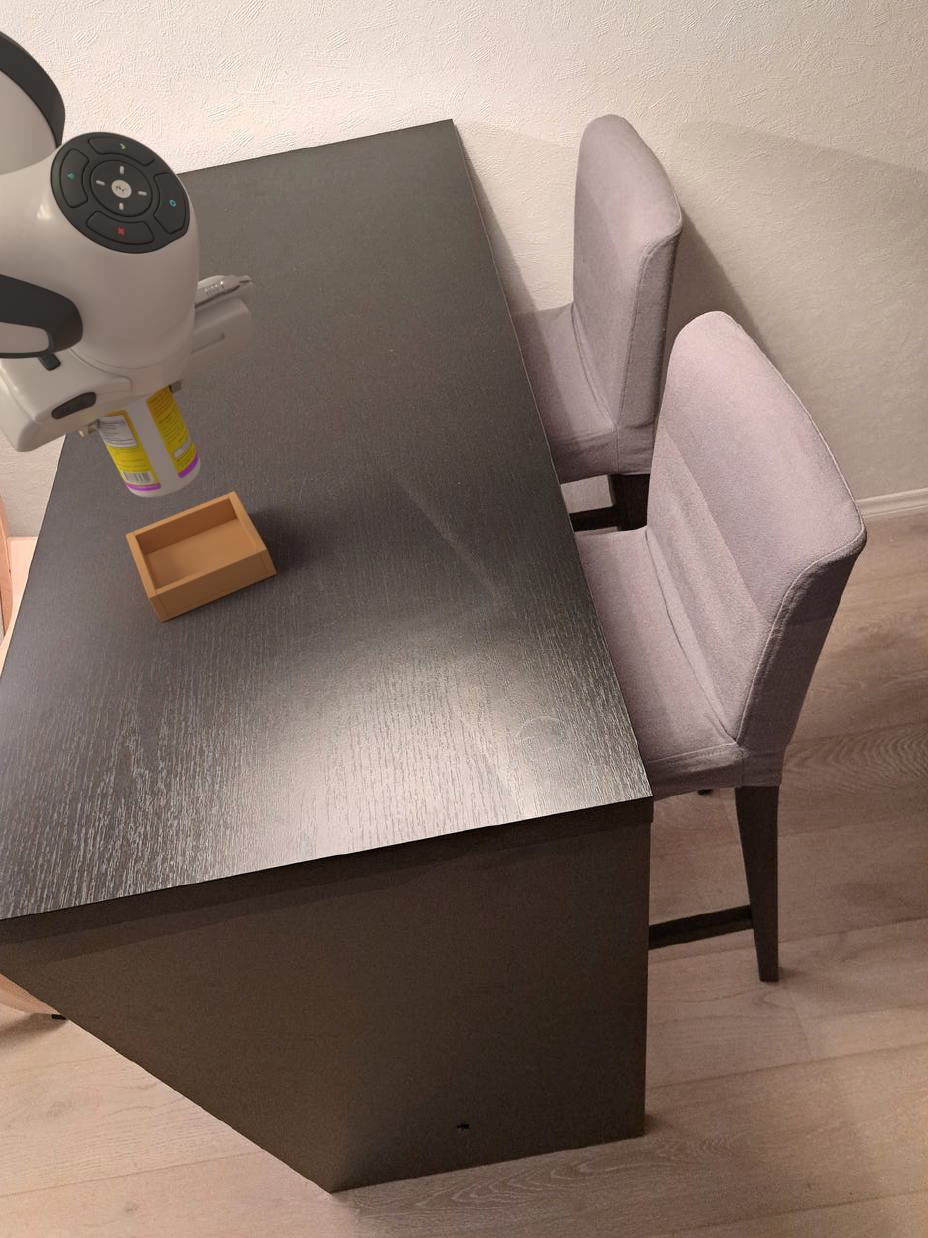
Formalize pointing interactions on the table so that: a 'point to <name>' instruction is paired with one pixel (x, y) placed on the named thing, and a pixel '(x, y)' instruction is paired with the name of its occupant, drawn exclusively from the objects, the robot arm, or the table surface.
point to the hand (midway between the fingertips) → (129, 404)
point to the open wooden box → (199, 556)
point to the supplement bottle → (151, 445)
